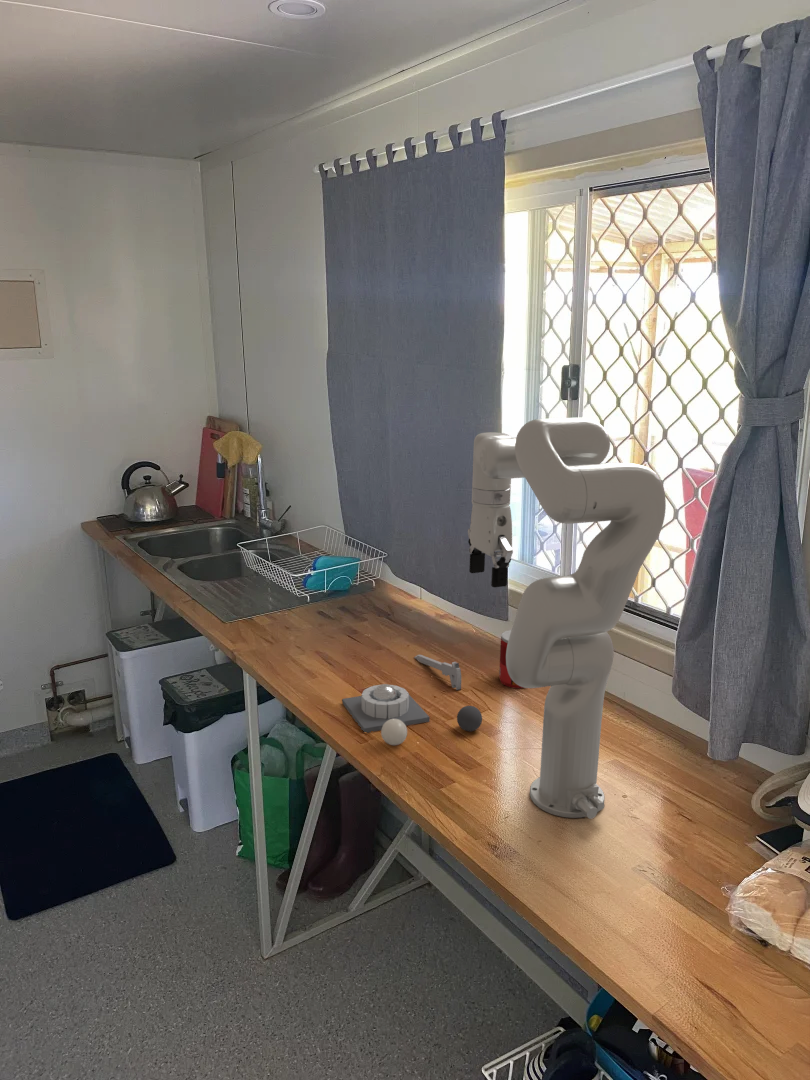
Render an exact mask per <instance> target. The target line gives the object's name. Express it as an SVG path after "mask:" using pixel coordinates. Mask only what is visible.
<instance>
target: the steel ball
mask: <svg viewBox="0 0 810 1080" xmlns="http://www.w3.org/2000/svg"><path fill="white" fill-rule="evenodd" d="M378 685H379V686H378V687H377V688H376V689H375V690H374V692H373V699H374V700H377V701H384V702H388V701H394V700H396V699H397V693H396V691H395V689H394V688H393V687H392V686H390V685H391V684H388V683H382V684H378Z"/></svg>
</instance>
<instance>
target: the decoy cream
mask: <svg viewBox="0 0 810 1080" xmlns="http://www.w3.org/2000/svg"><path fill="white" fill-rule="evenodd" d="M380 736H381V738H382V740H383V741H384V742H385V743H386V744H387V745H390V746H398V745H401V744H403V742H405V741H406V739H407V736H408V728H407V726H406V725H405V724H404V723H403V722H402V721H401V720H399V719H390V720H388V721H386V722H385V723H384V724H383V726H382V729H381V730H380Z"/></svg>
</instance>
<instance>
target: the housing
mask: <svg viewBox="0 0 810 1080" xmlns="http://www.w3.org/2000/svg"><path fill="white" fill-rule="evenodd" d="M379 685H380V684H377V685H372V686H369V687H367V688H365V689H364V690H363V691H362V693H361V695H358V696H351V697H346V698H342V699H341V700H342V704H343V706H344V707H345V708H346V710H347V712H348V713H349V715H350V716H351V715H352V716H351V717H352V719H353V720H354V719H355V720H354V721H355V723H356V722H357V723H358V724H357V723H356V724H357V726H358V727H359V726H360V727H361V728H360V727H359V728H360V730H361V731H362V730H363V731H364V732H367V733H371V731H373V732H378V731H381V729H382V726H383V724H384V723H385V722H386V721H388V720H390V719H399V720H401V721H402V722H403V723H404V724H405V725H406V727H407V726H413V725H418V724H423V723H430V715H429V714H428V713H426V711H425V710H424V709H423V708H422V707H421V706H420V705H419V704H418V702H416V701H415V699H414V698H413V697H412V696H411V695H410V693H409V692H408V691H407V689H405V688H404V687H401V686H398V685H394V684H389V685H390V686H392V687H393V688H394V689H395V691H396V693H397V699H396V700H394V701H388V702H384V701H377V700H374V699H373V692H374V690H375V689H376V688H377V687H378V686H379ZM363 731H362V732H363ZM364 732H363V733H364Z"/></svg>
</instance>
